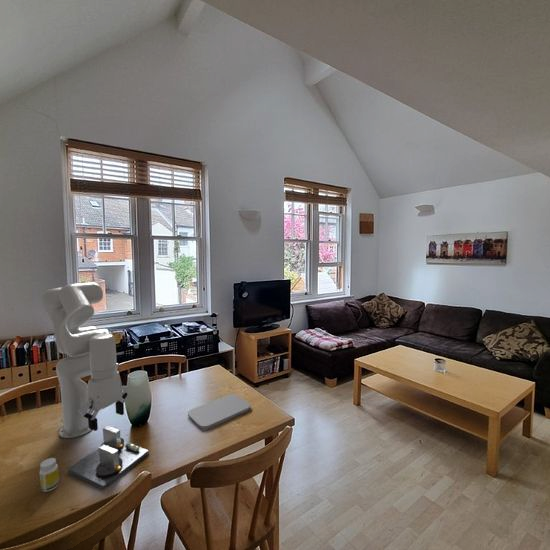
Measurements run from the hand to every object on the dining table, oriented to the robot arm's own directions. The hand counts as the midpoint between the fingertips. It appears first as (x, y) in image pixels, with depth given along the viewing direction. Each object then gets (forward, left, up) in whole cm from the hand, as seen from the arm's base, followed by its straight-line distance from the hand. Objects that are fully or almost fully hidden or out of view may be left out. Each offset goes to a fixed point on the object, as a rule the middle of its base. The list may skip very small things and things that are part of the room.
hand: (107, 421), depth 101 cm
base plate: (-4, +3, -18) cm, 19 cm away
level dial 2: (-9, +8, -17) cm, 21 cm away
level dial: (0, 0, -17) cm, 17 cm away
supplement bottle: (-12, -12, -18) cm, 25 cm away
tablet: (+13, +46, -19) cm, 51 cm away
